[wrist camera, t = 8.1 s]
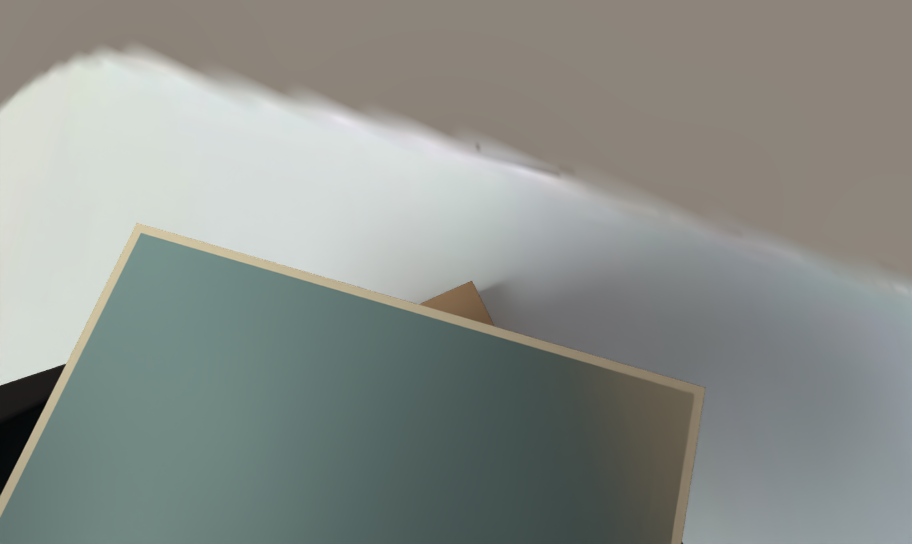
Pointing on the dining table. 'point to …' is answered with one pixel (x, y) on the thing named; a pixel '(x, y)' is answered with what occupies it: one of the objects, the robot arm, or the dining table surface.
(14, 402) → the robot arm
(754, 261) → the dining table surface
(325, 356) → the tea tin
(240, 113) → the dining table surface
